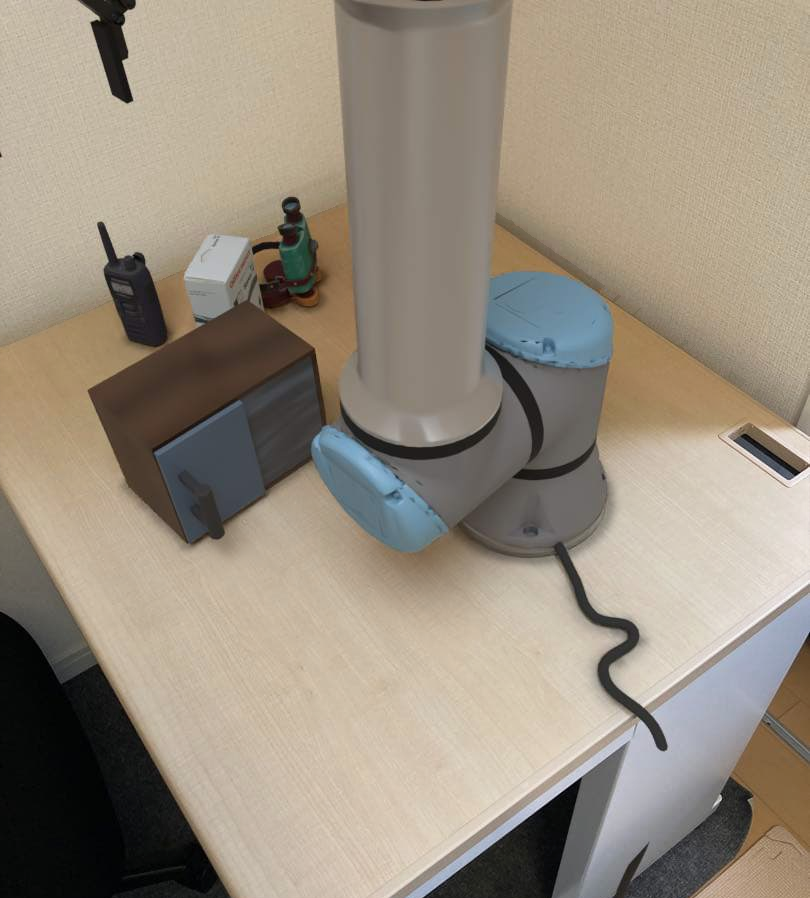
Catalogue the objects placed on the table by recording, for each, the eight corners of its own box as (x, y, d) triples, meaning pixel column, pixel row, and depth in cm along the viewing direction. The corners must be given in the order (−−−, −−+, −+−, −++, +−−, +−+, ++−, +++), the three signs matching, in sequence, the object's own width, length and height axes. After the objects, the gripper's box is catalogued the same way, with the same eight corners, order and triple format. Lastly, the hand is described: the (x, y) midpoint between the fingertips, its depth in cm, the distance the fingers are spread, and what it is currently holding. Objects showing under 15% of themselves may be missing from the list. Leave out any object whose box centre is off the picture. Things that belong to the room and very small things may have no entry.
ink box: (246, 371, 102) (225, 282, 92) (205, 367, 102) (179, 278, 93) (269, 322, 107) (251, 233, 98) (229, 319, 108) (207, 230, 98)
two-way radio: (121, 340, 106) (78, 226, 94) (142, 317, 109) (103, 203, 97) (160, 351, 105) (122, 236, 93) (181, 328, 107) (146, 213, 95)
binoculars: (228, 199, 106) (312, 188, 105) (253, 275, 114) (331, 266, 113) (217, 243, 100) (305, 232, 99) (244, 320, 109) (326, 311, 107)
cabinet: (331, 446, 94) (315, 347, 84) (187, 544, 87) (150, 448, 76) (269, 398, 99) (247, 299, 89) (128, 486, 92) (86, 389, 82)
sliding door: (292, 515, 87) (271, 425, 78) (215, 568, 84) (185, 481, 74) (262, 489, 89) (239, 399, 80) (187, 540, 86) (153, 452, 76)
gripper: (81, -205, 74) (152, 65, 90) (-230, -123, 64) (-87, 163, 81) (129, -190, 70) (194, 88, 87) (-192, -101, 60) (-50, 194, 77)
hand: (59, 125), depth 84 cm, fingers open, 13 cm apart
